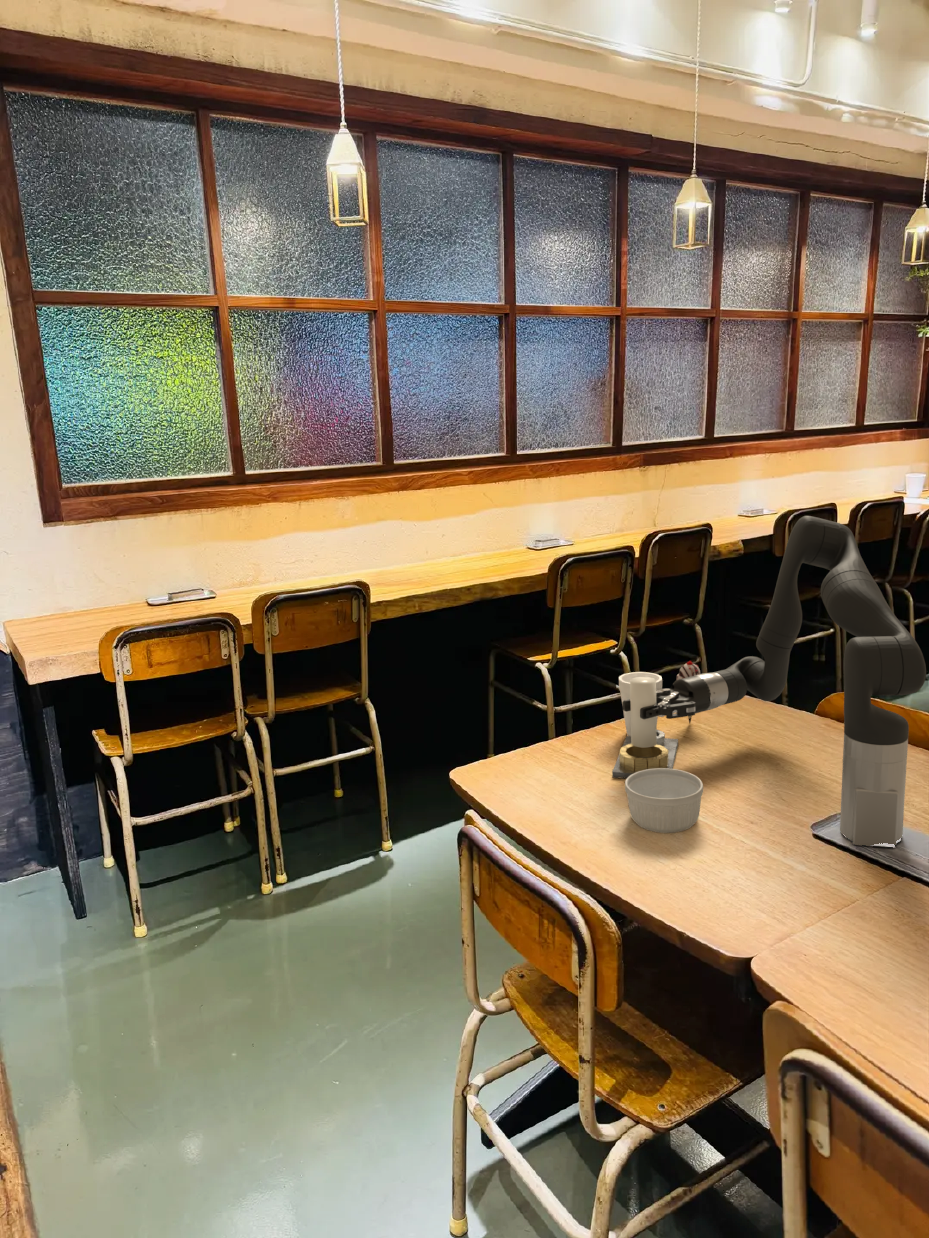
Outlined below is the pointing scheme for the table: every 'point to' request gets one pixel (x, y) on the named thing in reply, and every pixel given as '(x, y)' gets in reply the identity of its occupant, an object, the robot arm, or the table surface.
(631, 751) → the grey ring holder base
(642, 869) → the table surface
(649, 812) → the ramekin
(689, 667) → the ice cream cone
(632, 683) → the white rounded cylinder
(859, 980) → the table surface
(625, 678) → the foam cup
